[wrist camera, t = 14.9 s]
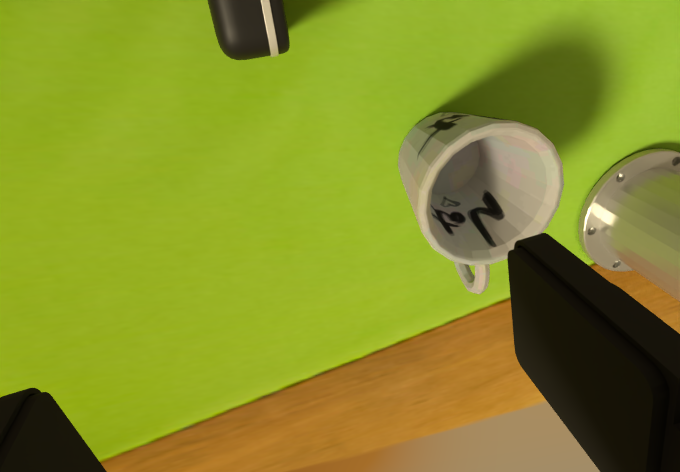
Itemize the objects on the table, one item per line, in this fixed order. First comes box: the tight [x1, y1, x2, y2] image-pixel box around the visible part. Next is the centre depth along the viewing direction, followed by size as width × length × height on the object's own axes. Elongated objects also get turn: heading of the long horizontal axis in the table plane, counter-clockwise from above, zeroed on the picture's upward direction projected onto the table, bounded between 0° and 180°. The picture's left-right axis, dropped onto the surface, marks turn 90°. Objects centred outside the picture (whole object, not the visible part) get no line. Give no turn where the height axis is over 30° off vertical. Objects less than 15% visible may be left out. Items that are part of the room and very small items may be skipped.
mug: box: [398, 112, 564, 294], centre depth 38 cm, size 10×15×10 cm
